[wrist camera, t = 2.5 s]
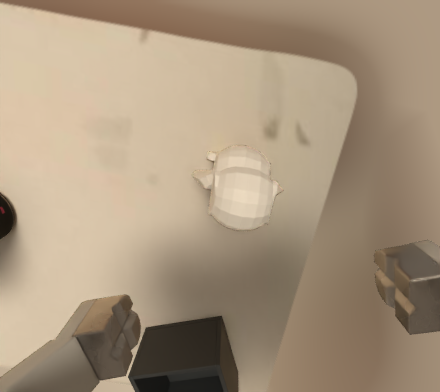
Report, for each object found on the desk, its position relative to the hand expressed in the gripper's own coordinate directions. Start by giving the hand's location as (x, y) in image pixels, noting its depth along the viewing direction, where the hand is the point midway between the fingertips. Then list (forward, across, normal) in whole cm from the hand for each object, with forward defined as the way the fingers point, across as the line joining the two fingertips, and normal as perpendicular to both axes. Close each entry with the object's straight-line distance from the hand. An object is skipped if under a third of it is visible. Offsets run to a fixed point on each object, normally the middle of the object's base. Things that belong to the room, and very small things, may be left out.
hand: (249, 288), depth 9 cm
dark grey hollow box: (+19, +11, +24) cm, 32 cm away
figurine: (+19, 0, 0) cm, 19 cm away
